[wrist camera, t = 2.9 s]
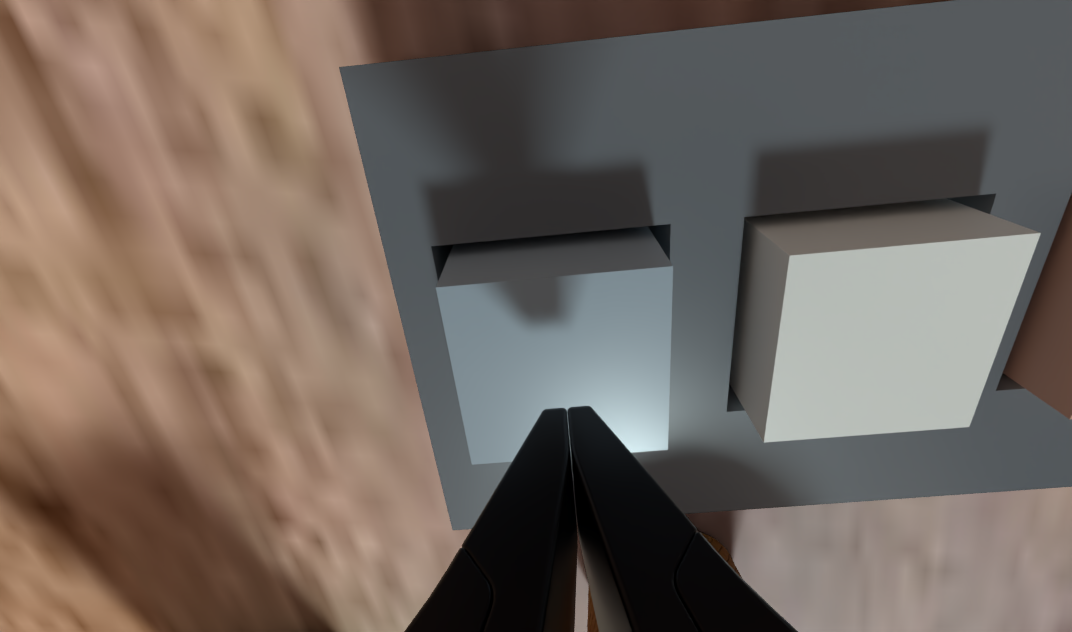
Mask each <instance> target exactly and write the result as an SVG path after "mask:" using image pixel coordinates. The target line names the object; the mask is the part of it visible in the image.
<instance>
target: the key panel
mask: <svg viewBox="0 0 1072 632" xmlns="http://www.w3.org/2000/svg"><path fill="white" fill-rule="evenodd" d="M339 69H340V73H341V77H342V81H343V85H344V89H345V93H346V97H347V101H348V105H349V109H350V114H351V118H352V122H353V126H354V130H355V134H356V138H357V142H358V146H359V150H360V154H361V158H362V162H363V167H364V171H365V175H366V179H367V183H368V187H369V191H370V195H371V199H372V203H373V207H374V211H375V215H376V219H377V224H378V228H379V232H380V236H381V240H382V244H383V248H384V252H385V256H386V260H387V264H388V268H389V272H390V277H391V281H392V285H393V289H394V293H395V297H396V301H397V305H398V309H399V313H400V317H401V321H402V325H403V329H404V334H405V338H406V342H407V346H408V350H409V354H410V358H411V362H412V366H413V370H414V374H415V378H416V382H417V387H418V391H419V395H420V399H421V403H422V407H423V411H424V415H425V419H426V423H427V427H428V431H429V435H430V439H431V444H432V448H433V452H434V456H435V460H436V464H437V468H438V472H439V476H440V480H441V484H442V488H443V492H444V497H445V501H446V505H447V509H448V513H449V517H450V521H451V525H452V529H453V530H463V529H472V528H473V526H474V524H475V523H476V521H477V519H478V518H479V516H480V514H481V513H482V511H483V509H484V508H485V506H486V504H487V503H488V501H489V499H490V498H491V496H492V494H493V493H494V491H495V489H496V488H497V486H498V484H499V483H500V481H501V479H502V478H503V476H504V474H505V473H506V471H507V469H508V468H509V466H510V464H511V463H512V462H501V463H488V464H474V465H472V463H471V458H470V453H469V448H468V443H467V439H466V434H465V429H464V424H463V419H462V414H461V409H460V404H459V399H458V394H457V389H456V385H455V380H454V375H453V370H452V365H451V360H450V355H449V350H448V345H447V340H446V335H445V331H444V326H443V321H442V316H441V311H440V306H439V301H438V296H437V291H436V286H437V283H438V281H439V278H440V276H441V273H442V271H443V269H444V266H445V264H446V261H447V259H448V256H449V254H450V251H451V249H452V247H453V244H462V243H472V242H483V241H494V240H505V239H515V238H526V237H537V236H547V235H558V234H569V233H579V232H590V231H601V230H611V229H622V228H633V227H644V226H648V228H649V229H650V231H651V232H652V234H653V235H654V237H655V238H656V240H657V242H658V243H659V245H660V246H661V248H662V249H663V251H664V253H665V254H666V256H667V257H668V259H669V260H670V262H671V264H672V265H673V289H672V325H671V360H670V396H669V431H668V450H659V451H646V452H633V453H632V454H633V456H634V457H635V458H636V459H637V460H638V461H639V462H640V464H641V465H642V466H643V467H644V468H645V469H646V471H647V472H648V473H649V474H650V475H651V476H652V477H653V479H654V480H655V481H656V482H657V483H658V484H659V486H660V487H661V488H662V489H663V490H664V491H665V492H666V494H667V495H668V496H669V497H670V498H671V499H672V500H673V502H674V503H675V504H676V505H677V506H678V507H679V509H680V510H681V511H682V512H683V513H684V514H689V513H704V512H718V511H732V510H746V509H760V508H774V507H789V506H803V505H817V504H831V503H845V502H859V501H874V500H888V499H902V498H916V497H930V496H944V495H959V494H973V493H987V492H1001V491H1015V490H1030V489H1044V488H1058V487H1072V419H1068V418H1067V417H1065V416H1064V415H1063V414H1061V413H1060V412H1058V411H1057V410H1055V409H1054V408H1053V407H1051V406H1050V405H1048V404H1047V403H1045V402H1044V401H1042V400H1041V399H1040V398H1038V397H1037V396H1035V395H1034V394H1032V393H1031V392H1029V391H1028V390H1027V389H1025V388H1024V387H1022V386H1021V385H1019V384H1018V383H1016V382H1015V381H1014V380H1012V379H1011V378H1009V377H1008V376H1006V375H1005V374H1003V370H1004V368H1005V365H1006V363H1007V360H1008V357H1009V355H1010V352H1011V350H1012V347H1013V344H1014V342H1015V339H1016V336H1017V334H1018V331H1019V329H1020V326H1021V323H1022V321H1023V318H1024V316H1025V313H1026V310H1027V308H1028V305H1029V303H1030V300H1031V297H1032V295H1033V292H1034V290H1035V287H1036V284H1037V282H1038V279H1039V277H1040V274H1041V271H1042V269H1043V266H1044V263H1045V261H1046V258H1047V256H1048V253H1049V250H1050V248H1051V245H1052V243H1053V240H1054V237H1055V235H1056V232H1057V230H1058V227H1059V224H1060V222H1061V219H1062V217H1063V214H1064V211H1065V209H1066V206H1067V204H1068V201H1069V198H1070V196H1071V193H1072V0H953V1H944V2H934V3H925V4H916V5H907V6H898V7H888V8H879V9H870V10H861V11H852V12H842V13H833V14H824V15H815V16H806V17H797V18H787V19H778V20H769V21H760V22H751V23H741V24H732V25H723V26H714V27H705V28H695V29H686V30H677V31H668V32H659V33H649V34H640V35H631V36H622V37H613V38H603V39H594V40H585V41H576V42H567V43H557V44H548V45H539V46H530V47H521V48H511V49H502V50H493V51H484V52H475V53H465V54H456V55H447V56H438V57H429V58H419V59H410V60H401V61H392V62H383V63H373V64H364V65H355V66H346V67H339ZM943 198H947V199H949V200H952V201H955V202H957V203H960V204H963V205H966V206H968V207H971V208H974V209H977V210H979V211H982V212H985V213H988V214H990V215H993V216H996V217H999V218H1001V219H1004V220H1007V221H1010V222H1012V223H1015V224H1018V225H1020V226H1023V227H1026V228H1029V229H1031V230H1034V231H1037V232H1040V233H1041V234H1040V237H1039V240H1038V242H1037V245H1036V248H1035V250H1034V253H1033V256H1032V259H1031V261H1030V264H1029V267H1028V269H1027V272H1026V275H1025V278H1024V280H1023V283H1022V286H1021V288H1020V291H1019V294H1018V296H1017V299H1016V302H1015V305H1014V307H1013V310H1012V313H1011V315H1010V318H1009V321H1008V324H1007V326H1006V329H1005V332H1004V334H1003V337H1002V340H1001V343H1000V345H999V348H998V351H997V353H996V356H995V359H994V361H993V364H992V367H991V370H990V372H989V375H988V378H987V380H986V383H985V386H984V389H983V391H982V394H981V397H980V399H979V402H978V405H977V407H976V410H975V413H974V416H973V418H972V421H971V424H970V426H969V427H963V428H950V429H937V430H923V431H910V432H897V433H884V434H871V435H857V436H844V437H831V438H818V439H805V440H791V441H778V442H765V443H764V442H763V440H762V439H761V437H760V435H759V434H758V432H757V430H756V428H755V427H754V425H753V423H752V422H751V420H750V418H749V416H748V415H747V413H746V411H745V410H744V408H743V406H742V404H741V403H740V401H739V399H738V397H737V396H736V394H735V392H734V391H733V389H732V387H731V385H730V384H729V379H730V368H731V358H732V347H733V336H734V325H735V314H736V303H737V293H738V282H739V271H740V260H741V249H742V238H743V228H744V217H750V216H761V215H772V214H783V213H793V212H804V211H815V210H825V209H836V208H847V207H857V206H868V205H879V204H890V203H900V202H911V201H922V200H932V199H943ZM571 463H572V460H571ZM572 474H573V471H572ZM573 486H574V483H573ZM574 497H575V494H574ZM575 509H576V505H575ZM576 520H577V517H576Z"/></svg>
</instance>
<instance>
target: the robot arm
mask: <svg viewBox="0 0 1072 632" xmlns="http://www.w3.org/2000/svg"><path fill="white" fill-rule="evenodd" d="M567 414H568V417H567ZM568 426H569V429H568ZM569 437H570V440H569ZM570 449H571V451H570ZM571 460H572V463H571ZM572 471H573V474H572ZM573 483H574V486H573ZM574 494H575V497H574ZM575 505H576V509H575ZM576 517H577V520H576ZM577 526H578V534H579V540H580V546H581V551H582V555H583V560H584V564H585V569H586V574H587V578H588V583H589V588H590V592H591V597H592V601H593V606H594V611H595V615H596V620H597V625H598V629H599V632H798V631H797V630H796V629H794V628H793V627H792V626H791V625H790V624H789V623H788V622H787V621H786V620H785V619H784V618H783V617H782V616H780V615H779V614H778V613H777V612H776V611H775V610H774V609H773V608H772V607H771V606H770V605H769V604H768V603H767V602H766V601H765V600H764V599H763V598H762V597H760V596H759V595H758V594H757V593H756V592H755V591H754V590H753V589H752V588H751V587H750V586H749V585H748V584H747V583H746V582H745V581H744V580H743V579H742V578H741V577H740V576H739V575H738V574H737V573H736V572H735V571H734V569H733V568H732V567H731V566H730V565H729V564H728V563H727V562H726V561H725V560H724V559H723V558H722V556H721V555H720V554H719V553H718V552H717V551H716V550H715V549H714V548H713V546H712V545H711V544H710V543H709V542H708V541H707V539H706V538H705V537H704V536H703V535H702V534H701V533H700V532H697V528H696V527H695V526H694V525H693V524H692V522H691V521H690V520H689V519H688V518H687V517H686V515H685V514H684V513H683V512H682V511H681V510H680V509H679V507H678V506H677V505H676V504H675V503H674V502H673V500H672V499H671V498H670V497H669V496H668V495H667V494H666V492H665V491H664V490H663V489H662V488H661V487H660V486H659V484H658V483H657V482H656V481H655V480H654V479H653V477H652V476H651V475H650V474H649V473H648V472H647V471H646V469H645V468H644V467H643V466H642V465H641V464H640V462H639V461H638V460H637V459H636V458H635V457H634V456H633V454H632V453H631V452H630V451H629V450H628V449H627V447H626V446H625V445H624V444H623V443H622V442H621V441H620V439H619V438H618V437H617V436H616V435H615V434H614V432H613V431H612V430H611V429H610V428H609V427H608V426H607V424H606V423H605V422H604V421H603V420H602V419H601V417H600V416H599V415H598V414H597V413H596V412H595V411H594V409H593V408H592V407H590V406H577V407H570V408H568V410H566V409H565V408H552V409H545V410H543V411H542V413H541V414H540V416H539V418H538V419H537V421H536V423H535V424H534V426H533V428H532V429H531V431H530V433H529V434H528V436H527V438H526V439H525V441H524V443H523V444H522V446H521V448H520V449H519V451H518V453H517V454H516V456H515V458H514V459H513V461H512V463H511V464H510V466H509V468H508V469H507V471H506V473H505V474H504V476H503V478H502V479H501V481H500V483H499V484H498V486H497V488H496V489H495V491H494V493H493V494H492V496H491V498H490V499H489V501H488V503H487V504H486V506H485V508H484V509H483V511H482V513H481V514H480V516H479V518H478V519H477V521H476V523H475V524H474V526H473V528H472V529H471V531H470V533H469V534H468V536H467V538H466V539H465V541H464V543H463V544H462V548H460V549H459V551H458V552H457V554H456V556H455V557H454V559H453V561H452V562H451V564H450V566H449V567H448V569H447V571H446V572H445V574H444V575H443V577H442V578H441V580H440V581H439V583H438V585H437V586H436V588H435V589H434V591H433V592H432V594H431V595H430V597H429V598H428V600H427V601H426V603H425V604H424V605H423V607H422V608H421V609H420V611H419V612H418V614H417V615H416V616H415V618H414V619H413V620H412V622H411V623H410V625H409V626H408V627H407V629H406V630H405V631H404V632H574V624H575V597H576V571H577Z"/></svg>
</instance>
